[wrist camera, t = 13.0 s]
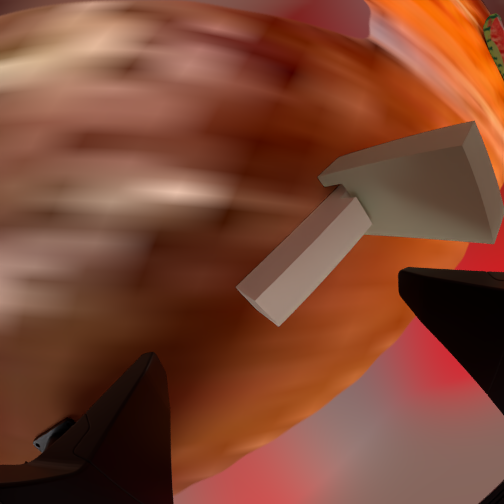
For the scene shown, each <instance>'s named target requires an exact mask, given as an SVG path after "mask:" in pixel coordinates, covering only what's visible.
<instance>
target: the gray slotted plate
mask: <svg viewBox="0 0 504 504" xmlns="http://www.w3.org/2000/svg"><path fill="white" fill-rule="evenodd" d="M317 178H318V179H319V180H320V182H321V183H322V185H323V186H324V187H327V186H332V185H337V184H343V186H344V187H345V189H346V190H347V192H348V193H349V195H350V196H351V197H356V198H357V199H358V201H359V202H360V204H361V206H362V207H363V209H364V211H365V212H366V214H367V216H368V217H369V219H370V221H371V222H372V225H371V226H370V228H369V229H368V230H367V231H366V232H365V233H364V235H381V236H397V237H411V238H426V239H439V240H452V241H464V242H476V243H487V244H494V243H495V240H496V237H497V234H498V231H499V228H500V225H501V222H502V219H503V216H504V206H503V202H502V198H501V194H500V190H499V187H498V183H497V180H496V177H495V174H494V170H493V167H492V164H491V161H490V159H489V156H488V153H487V150H486V148H485V145H484V143H483V140H482V137H481V135H480V133H479V130H478V128H477V126H476V123H475V121H471V122H466V123H461V124H457V125H453V126H448V127H444V128H440V129H436V130H432V131H428V132H424V133H420V134H416V135H412V136H409V137H405V138H401V139H398V140H394V141H390V142H387V143H383V144H380V145H377V146H373V147H370V148H366V149H363V150H360V151H357V152H353V153H350V154H347V155H344V156H341V157H338V158H337V159H336V160H335V161H334V162H333V163H332V164H331V165H330V166H329V167H327V168H326V169H325V170H324V171H323V172H322V173H321V174H320V175H319V176H318V177H317Z"/></svg>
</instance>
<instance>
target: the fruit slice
mask: <svg viewBox="0 0 504 504" xmlns="http://www.w3.org/2000/svg"><path fill="white" fill-rule="evenodd" d="M501 20H502V19H501V18H500V16H499V15H498V14H497V13H495V14H492V15H490V16H489V17H488V18H487V20H486V21H485V24H484V26H483V31H484V36H485V39H486V43H487V46H488V48H489V51H490V53H491V56H492V58H493V60H494V62H495V64H496V66H497V67H498V69H499V71H500V73H501V74H502V76H503V78H504V26H503V24H502V22H501Z"/></svg>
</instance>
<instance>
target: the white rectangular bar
mask: <svg viewBox="0 0 504 504" xmlns="http://www.w3.org/2000/svg"><path fill="white" fill-rule="evenodd" d="M371 225H372V222H371V221H370V219H369V217H368V216H367V214H366V212H365V211H364V209H363V207H362V206H361V204H360V202H359V201H358V199H357V198H356V197H351V196H350V195H349V193H348V192H347V190H346V189H345V187H344V186H343V184H340V185H339V186H338V187H337V188H336V189H335V190H334V191H333V192H332V193H331V194H330V195H329V196H328V197H327V198H326V199H325V200H324V201H323V202H322V203H321V204H320V205H319V206H318V207H317V208H316V209H315V210H314V211H313V212H312V213H311V214H310V215H309V216H308V217H307V218H306V219H305V220H304V221H303V222H302V223H301V224H300V225H299V226H298V227H297V228H296V229H295V230H294V231H293V232H292V233H291V234H290V235H289V236H288V237H287V238H286V239H285V240H284V241H282V242H281V243H280V244H279V245H278V246H277V247H276V248H275V249H274V250H273V251H272V252H271V253H270V254H269V255H268V256H267V257H266V258H265V259H264V260H263V261H262V262H261V263H260V264H259V265H258V266H257V267H256V268H255V269H254V270H253V271H252V272H251V273H250V274H248V275H247V276H246V277H245V278H244V279H243V280H242V281H241V282H240V283H239V284H238V285H237V286H236V288H237V289H238V291H239V292H240V293H241V294H242V295H243V296H244V297H245V298H246V299H247V300H248V301H249V302H250V303H251V304H252V306H253V307H254V308H255V309H256V310H257V311H259V312H260V313H261V314H263V315H264V316H265V317H267V318H268V319H269V320H271V321H272V322H273V323H275V324H276V325H277V326H278V327H279V326H280V325H281V324H282V323H283V322H284V321H285V320H286V319H287V318H288V317H289V316H290V315H291V314H292V313H293V312H294V311H295V310H296V309H297V308H298V307H299V306H300V305H301V304H302V303H303V302H304V300H305V299H306V298H307V297H308V296H309V295H310V294H311V293H312V292H313V291H314V290H315V289H316V288H317V287H318V286H319V284H320V283H321V282H322V281H323V280H324V279H325V278H326V277H327V276H328V275H329V274H330V272H331V271H332V270H333V269H334V268H335V267H336V266H337V265H338V264H339V262H340V261H341V260H342V259H343V258H344V257H345V256H346V254H347V253H348V252H349V251H350V250H351V249H352V248H353V246H354V245H355V244H356V243H357V242H358V241H359V239H360V238H361V237H362V236H363V235H364V233H365V232H366V231H367V230H368V229H369V228H370V226H371Z"/></svg>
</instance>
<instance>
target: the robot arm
mask: <svg viewBox="0 0 504 504" xmlns="http://www.w3.org/2000/svg"><path fill="white" fill-rule="evenodd" d="M398 287H399V294H400V296H401V298H402V299H403V300H404V301H405V303H406V304H407V305H408V306H409V307H410V309H411V310H412V311H413V312H414V314H415V315H416V316H417V318H418V319H419V320H420V321H421V322H422V323H423V324H424V326H426V328H427V329H428V330H429V331H430V332H431V333H432V334H433V335H434V336H435V337H436V338H437V339H438V340H439V341H440V342H441V343H442V344H443V345H444V347H445V348H446V349H448V351H449V352H450V353H451V354H452V355H453V356H454V357H455V358H456V359H457V361H458V362H459V363H460V364H461V365H462V366H463V367H464V368H465V369H466V371H467V372H468V373H469V374H470V375H471V376H472V377H473V379H474V380H475V381H476V382H477V383H478V384H479V385H480V387H481V388H482V389H483V390H484V391H485V393H486V394H488V396H489V398H490V399H491V400H492V401H493V403H494V404H495V405H496V406H497V407H498V409H499V410H500V411H501V412H502V414H503V415H504V272H485V271H466V270H449V269H432V268H414V267H407V268H404V269H402V270H400V271H399V273H398ZM68 423H70V424H71V425H70V424H68ZM33 444H34V446H35V447H36V448H37V449H39V450H40V451H41V452H42V454H41V455H39V456H38V457H37V458H36V459H34V460H33V461H31V462H29V463H28V462H26V461H25V463H24V464H21V465H0V504H173V490H172V471H171V433H170V405H169V396H168V387H167V377H166V372H165V370H164V368H163V366H162V364H161V362H160V360H159V359H158V357H157V355H156V354H155V353H154V352H149V353H145V354H143V355H141V356H140V358H139V359H138V360H137V361H136V362H135V363H134V364H133V365H132V366H131V367H130V368H129V369H128V370H127V371H126V372H125V373H124V374H123V375H122V376H121V377H120V378H119V379H118V380H117V381H116V382H115V383H114V384H113V385H112V386H111V387H110V388H109V389H108V390H107V391H106V392H105V393H104V394H103V395H102V396H101V397H100V398H99V399H98V401H97V402H96V403H95V404H94V405H93V406H92V407H91V408H90V409H89V410H88V411H87V412H86V414H84V415H83V416H82V417H81V418H80V419H79V420H78V421H77V422H75V421H73V420H72V419H70V418H66V419H64V420H63V421H61V422H60V423H58V424H57V425H55V426H54V427H52V428H51V429H49V430H48V431H46V432H45V433H43V434H42V435H40V436H39V437H37V438H36V439H34V442H33ZM479 504H504V480H503V481H502V482H501V483H500V484H499V485H498V486H497V487H496V488H495V489H494V490H493V491H492V492H491V493H489V495H487V496H486V497H485V498H484V499H483V500H482V501H481V502H479Z"/></svg>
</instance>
